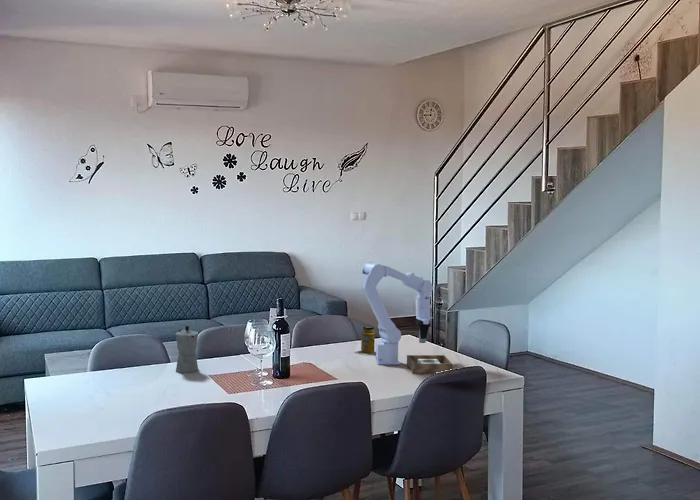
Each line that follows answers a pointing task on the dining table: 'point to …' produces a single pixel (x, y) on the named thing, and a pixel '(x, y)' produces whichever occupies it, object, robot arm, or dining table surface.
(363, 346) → the condiment
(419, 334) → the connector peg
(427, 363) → the walled box
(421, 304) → the robot arm
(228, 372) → the dining table surface
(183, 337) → the coffeepot
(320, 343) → the dining table surface
